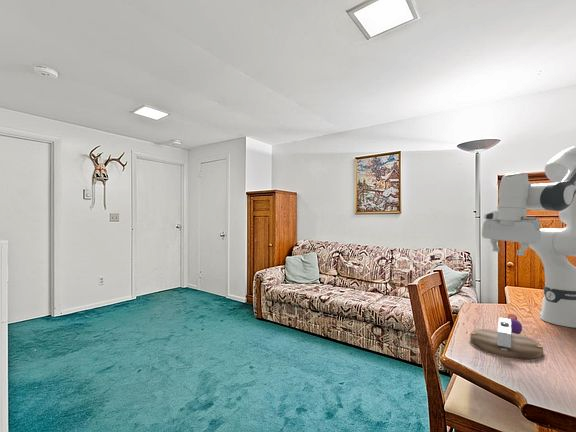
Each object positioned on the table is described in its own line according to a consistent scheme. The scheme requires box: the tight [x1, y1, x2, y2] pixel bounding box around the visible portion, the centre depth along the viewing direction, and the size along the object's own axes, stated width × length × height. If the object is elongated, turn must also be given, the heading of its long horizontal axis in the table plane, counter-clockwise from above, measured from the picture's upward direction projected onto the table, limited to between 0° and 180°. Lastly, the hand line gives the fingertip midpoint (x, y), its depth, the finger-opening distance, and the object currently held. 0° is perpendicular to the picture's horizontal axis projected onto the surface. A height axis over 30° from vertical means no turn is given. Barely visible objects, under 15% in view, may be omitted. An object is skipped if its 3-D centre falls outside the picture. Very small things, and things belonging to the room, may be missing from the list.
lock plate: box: [469, 328, 544, 361], centre depth 103 cm, size 20×20×3 cm
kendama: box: [506, 313, 523, 335], centre depth 119 cm, size 6×6×20 cm
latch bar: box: [497, 316, 511, 348], centre depth 103 cm, size 17×4×5 cm, turn 144°
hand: (507, 253), depth 112 cm, fingers open, 8 cm apart
